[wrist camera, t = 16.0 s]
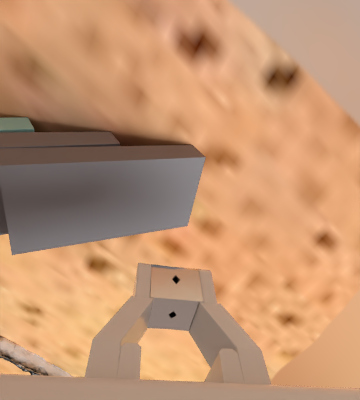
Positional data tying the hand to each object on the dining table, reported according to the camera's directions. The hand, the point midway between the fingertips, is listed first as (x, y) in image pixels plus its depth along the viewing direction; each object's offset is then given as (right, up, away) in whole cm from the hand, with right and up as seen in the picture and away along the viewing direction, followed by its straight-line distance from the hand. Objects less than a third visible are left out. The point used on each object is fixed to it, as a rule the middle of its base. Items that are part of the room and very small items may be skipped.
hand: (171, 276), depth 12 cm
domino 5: (+1, +4, +6) cm, 8 cm away
